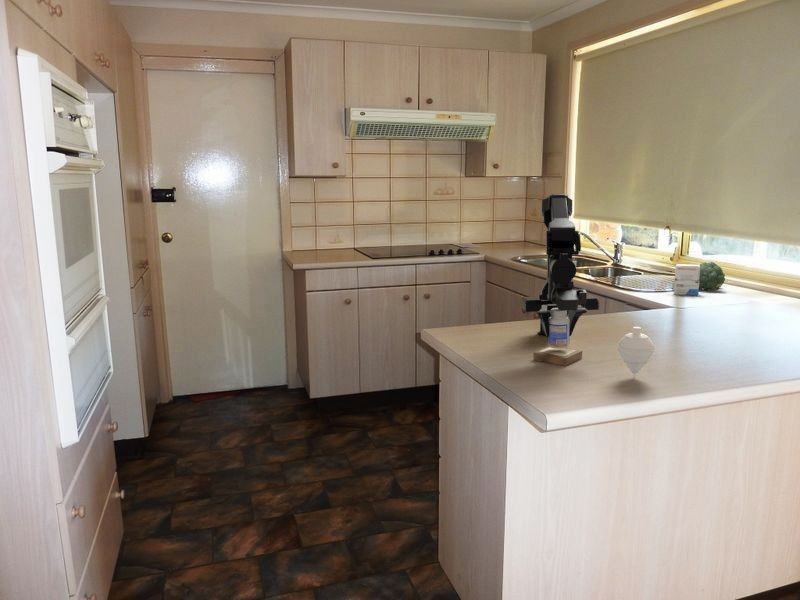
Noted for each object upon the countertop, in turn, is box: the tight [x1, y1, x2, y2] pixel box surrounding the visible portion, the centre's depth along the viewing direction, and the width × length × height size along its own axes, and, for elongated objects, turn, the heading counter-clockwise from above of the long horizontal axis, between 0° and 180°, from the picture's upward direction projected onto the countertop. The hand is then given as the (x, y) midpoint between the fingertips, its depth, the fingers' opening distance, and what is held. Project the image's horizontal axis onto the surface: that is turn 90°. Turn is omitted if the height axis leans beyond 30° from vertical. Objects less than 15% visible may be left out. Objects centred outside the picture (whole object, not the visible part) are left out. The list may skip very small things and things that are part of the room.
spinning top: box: [617, 326, 655, 379], centre depth 143 cm, size 8×8×12 cm
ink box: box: [673, 263, 700, 297], centre depth 245 cm, size 9×5×12 cm, turn 58°
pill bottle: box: [547, 308, 571, 349], centre depth 158 cm, size 5×5×10 cm
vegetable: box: [699, 262, 726, 292], centre depth 254 cm, size 12×13×15 cm
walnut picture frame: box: [532, 346, 583, 367], centre depth 160 cm, size 9×9×2 cm
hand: (558, 336), depth 159 cm, fingers closed on pill bottle, 5 cm apart
